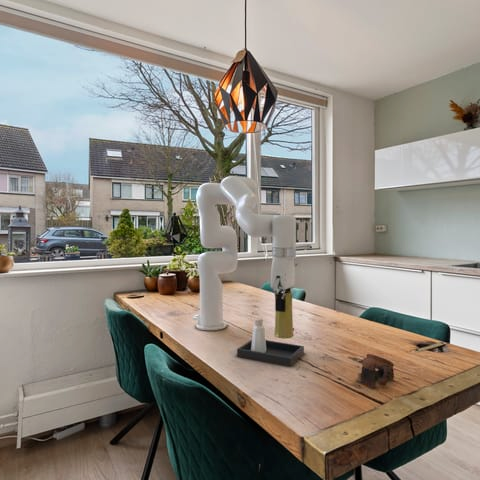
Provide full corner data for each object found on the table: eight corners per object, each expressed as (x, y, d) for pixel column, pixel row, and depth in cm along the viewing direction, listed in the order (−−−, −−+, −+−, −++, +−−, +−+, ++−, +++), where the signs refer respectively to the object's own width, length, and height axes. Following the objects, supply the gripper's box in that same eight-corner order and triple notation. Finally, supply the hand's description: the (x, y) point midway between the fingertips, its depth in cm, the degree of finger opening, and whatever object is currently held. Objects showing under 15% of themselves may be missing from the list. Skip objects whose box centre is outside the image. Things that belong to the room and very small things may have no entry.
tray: (237, 356, 117) (237, 348, 117) (254, 345, 129) (254, 338, 128) (290, 366, 109) (290, 358, 109) (304, 353, 120) (304, 346, 120)
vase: (292, 339, 113) (292, 294, 112) (273, 338, 114) (273, 293, 113) (294, 333, 119) (294, 290, 118) (275, 332, 120) (275, 290, 119)
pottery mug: (349, 378, 102) (358, 350, 104) (377, 391, 103) (386, 363, 105) (371, 385, 90) (381, 354, 93) (404, 400, 91) (412, 368, 93)
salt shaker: (261, 355, 117) (261, 321, 117) (247, 352, 120) (247, 319, 119) (269, 350, 122) (269, 318, 121) (255, 347, 125) (255, 315, 124)
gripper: (282, 251, 125) (282, 303, 125) (262, 254, 109) (262, 313, 110) (303, 251, 121) (303, 305, 122) (285, 255, 106) (285, 316, 107)
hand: (283, 308), depth 116 cm, fingers closed on vase, 5 cm apart
